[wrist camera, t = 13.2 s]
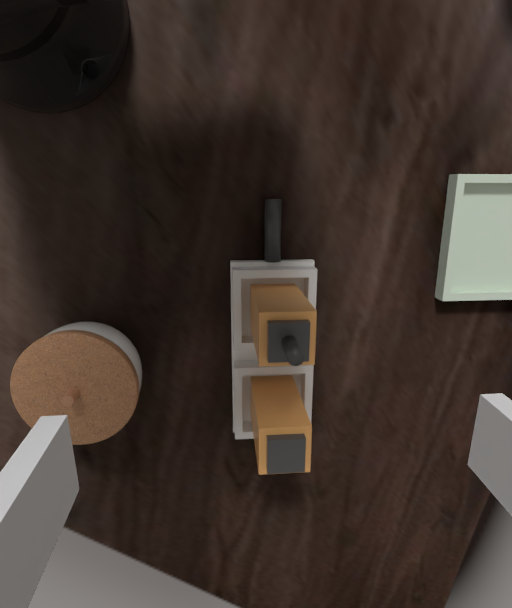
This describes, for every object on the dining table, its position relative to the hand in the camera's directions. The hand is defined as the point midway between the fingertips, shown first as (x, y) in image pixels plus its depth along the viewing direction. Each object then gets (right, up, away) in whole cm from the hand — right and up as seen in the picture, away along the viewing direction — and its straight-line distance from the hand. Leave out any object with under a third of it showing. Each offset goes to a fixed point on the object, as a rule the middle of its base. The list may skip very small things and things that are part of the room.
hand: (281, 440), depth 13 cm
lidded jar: (-17, -1, +30) cm, 35 cm away
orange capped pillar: (+1, -5, +32) cm, 32 cm away
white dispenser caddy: (+1, +3, +30) cm, 31 cm away
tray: (+25, +11, +30) cm, 41 cm away
